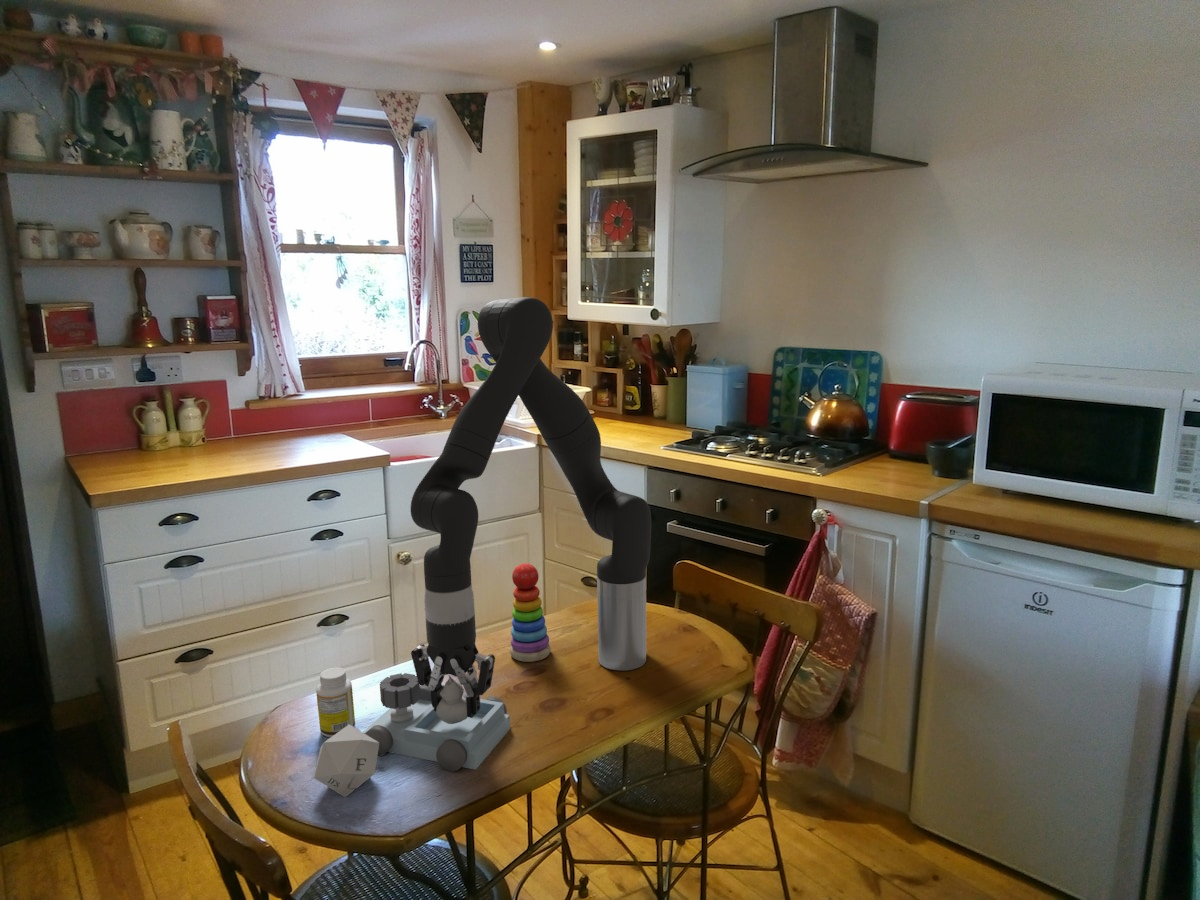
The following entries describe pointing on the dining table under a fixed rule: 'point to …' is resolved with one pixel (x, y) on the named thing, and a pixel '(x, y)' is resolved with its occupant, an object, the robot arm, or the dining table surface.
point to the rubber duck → (452, 703)
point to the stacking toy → (528, 617)
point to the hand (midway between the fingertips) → (456, 711)
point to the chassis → (441, 733)
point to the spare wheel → (400, 691)
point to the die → (346, 760)
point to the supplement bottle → (334, 701)
